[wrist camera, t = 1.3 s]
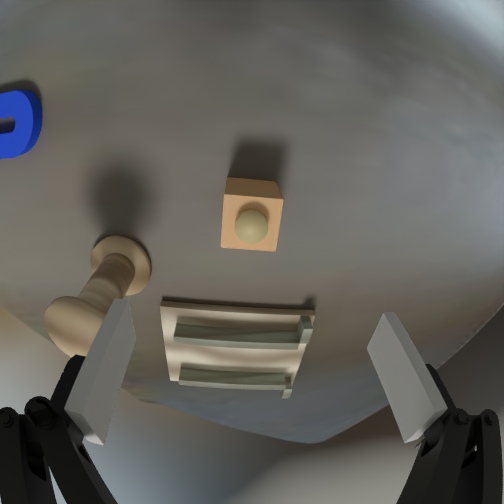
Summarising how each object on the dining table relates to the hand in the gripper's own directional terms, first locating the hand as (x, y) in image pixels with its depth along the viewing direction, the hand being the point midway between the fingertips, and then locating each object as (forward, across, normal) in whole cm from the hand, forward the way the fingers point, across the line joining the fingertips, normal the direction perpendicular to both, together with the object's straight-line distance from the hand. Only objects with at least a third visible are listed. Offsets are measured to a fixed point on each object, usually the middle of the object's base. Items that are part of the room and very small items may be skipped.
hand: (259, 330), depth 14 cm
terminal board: (+19, 0, -22) cm, 29 cm away
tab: (+19, 0, 0) cm, 19 cm away
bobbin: (+19, -15, -9) cm, 26 cm away
